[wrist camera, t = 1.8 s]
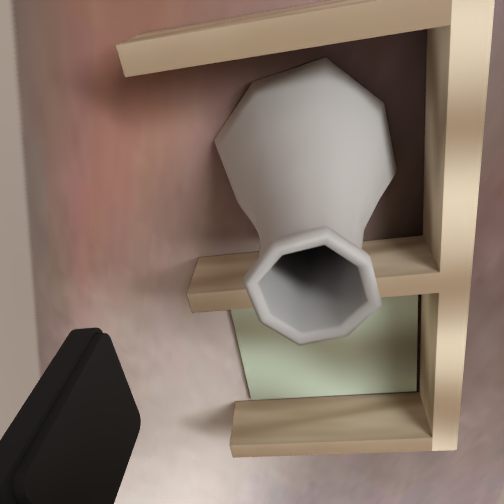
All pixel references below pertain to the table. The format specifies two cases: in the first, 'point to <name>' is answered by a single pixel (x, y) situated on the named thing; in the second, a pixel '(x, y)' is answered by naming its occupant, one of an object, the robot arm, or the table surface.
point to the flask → (309, 196)
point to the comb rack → (381, 251)
